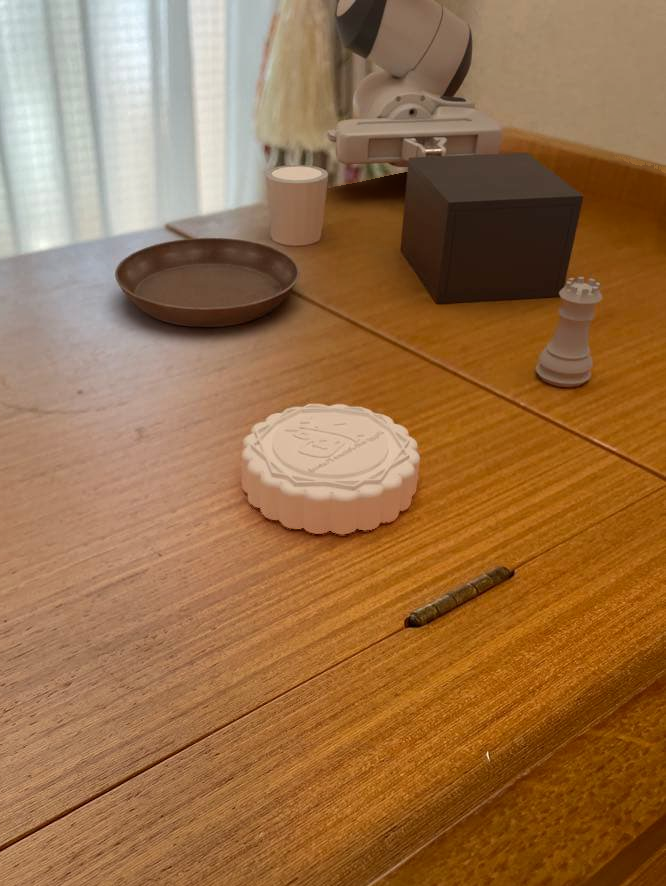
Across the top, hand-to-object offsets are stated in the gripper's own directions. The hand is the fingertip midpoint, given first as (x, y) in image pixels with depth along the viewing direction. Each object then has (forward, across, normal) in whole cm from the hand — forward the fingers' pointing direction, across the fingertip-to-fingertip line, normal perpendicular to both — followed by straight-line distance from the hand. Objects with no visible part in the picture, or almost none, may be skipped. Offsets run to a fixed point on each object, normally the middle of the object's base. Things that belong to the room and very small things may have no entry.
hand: (433, 157), depth 101 cm
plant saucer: (+22, -28, +7) cm, 36 cm away
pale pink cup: (+6, -17, +7) cm, 19 cm away
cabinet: (+19, 0, +6) cm, 20 cm away
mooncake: (+55, -22, +6) cm, 59 cm away
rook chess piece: (+42, 0, +6) cm, 42 cm away
